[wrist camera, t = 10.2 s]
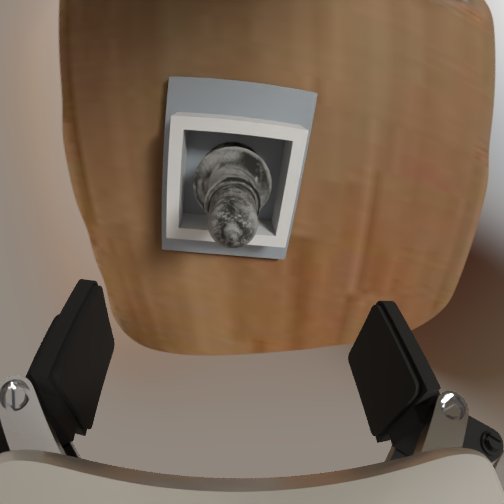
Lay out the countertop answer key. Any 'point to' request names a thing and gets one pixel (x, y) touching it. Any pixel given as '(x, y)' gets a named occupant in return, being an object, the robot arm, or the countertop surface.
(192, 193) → the holder
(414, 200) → the countertop surface
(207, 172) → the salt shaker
